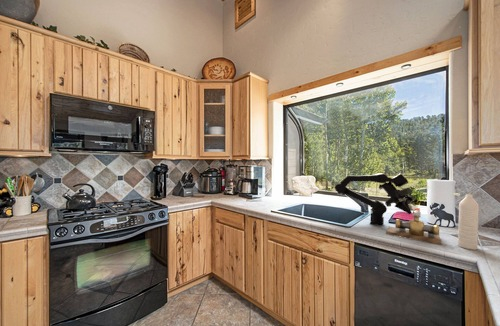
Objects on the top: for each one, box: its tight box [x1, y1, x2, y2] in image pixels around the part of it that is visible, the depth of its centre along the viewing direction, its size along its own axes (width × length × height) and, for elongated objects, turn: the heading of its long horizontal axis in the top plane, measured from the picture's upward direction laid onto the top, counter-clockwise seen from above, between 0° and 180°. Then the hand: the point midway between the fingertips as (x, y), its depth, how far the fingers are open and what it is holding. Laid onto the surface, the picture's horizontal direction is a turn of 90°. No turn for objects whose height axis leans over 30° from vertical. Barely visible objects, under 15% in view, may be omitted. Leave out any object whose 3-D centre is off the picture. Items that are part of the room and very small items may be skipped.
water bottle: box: [452, 192, 480, 251], centre depth 100 cm, size 9×6×25 cm
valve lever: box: [412, 207, 422, 218], centre depth 116 cm, size 12×3×3 cm, turn 141°
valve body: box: [394, 217, 440, 238], centre depth 113 cm, size 18×6×9 cm, turn 51°
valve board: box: [385, 225, 442, 245], centre depth 114 cm, size 22×11×2 cm, turn 51°
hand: (410, 213), depth 119 cm, fingers closed
